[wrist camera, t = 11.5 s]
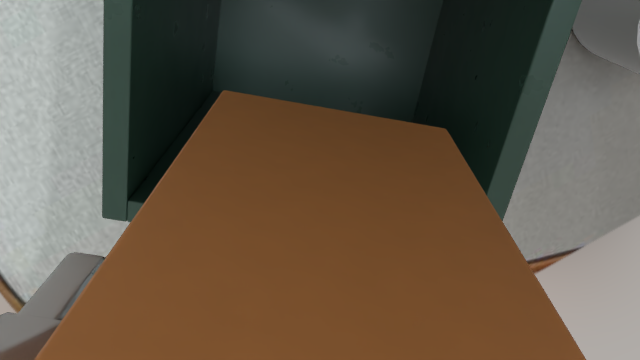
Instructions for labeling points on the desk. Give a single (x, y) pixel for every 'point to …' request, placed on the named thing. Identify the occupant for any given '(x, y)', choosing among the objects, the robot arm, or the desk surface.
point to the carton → (313, 251)
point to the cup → (611, 30)
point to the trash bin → (328, 74)
